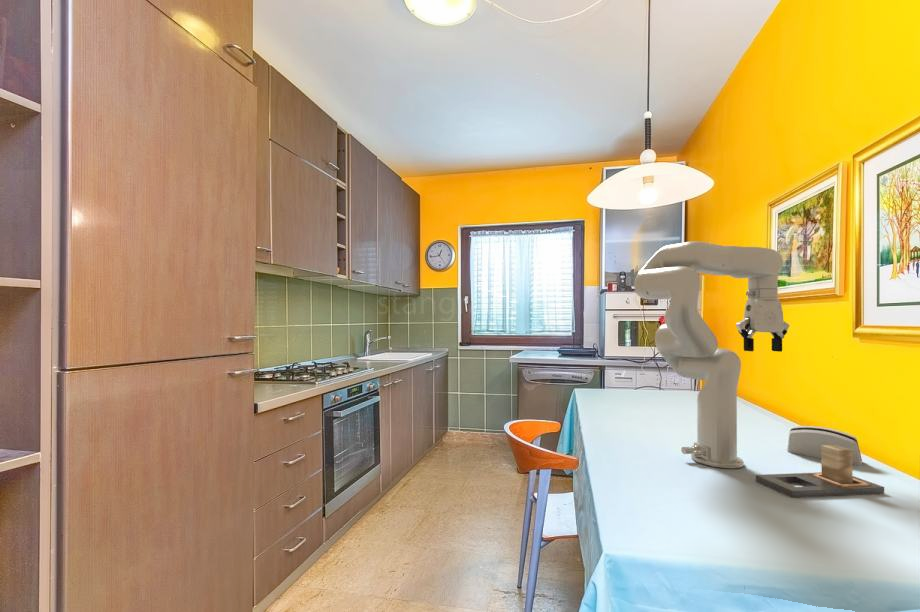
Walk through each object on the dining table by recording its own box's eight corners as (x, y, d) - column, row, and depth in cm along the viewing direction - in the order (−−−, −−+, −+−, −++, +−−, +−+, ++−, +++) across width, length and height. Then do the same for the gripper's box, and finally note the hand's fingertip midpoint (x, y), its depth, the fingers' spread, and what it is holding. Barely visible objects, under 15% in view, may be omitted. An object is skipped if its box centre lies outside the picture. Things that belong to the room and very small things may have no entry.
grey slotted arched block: (862, 461, 123) (861, 430, 121) (861, 471, 120) (860, 439, 118) (789, 448, 135) (787, 419, 133) (786, 456, 132) (784, 427, 130)
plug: (837, 488, 102) (837, 450, 103) (821, 482, 106) (821, 445, 107) (852, 488, 103) (852, 449, 103) (835, 481, 107) (835, 445, 107)
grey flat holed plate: (792, 497, 96) (792, 490, 97) (755, 481, 106) (755, 474, 106) (884, 493, 100) (884, 486, 100) (840, 477, 110) (840, 470, 110)
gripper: (747, 294, 128) (747, 352, 128) (798, 295, 131) (798, 352, 130) (728, 295, 136) (728, 350, 135) (777, 296, 138) (777, 350, 138)
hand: (762, 351), depth 133 cm, fingers open, 9 cm apart
